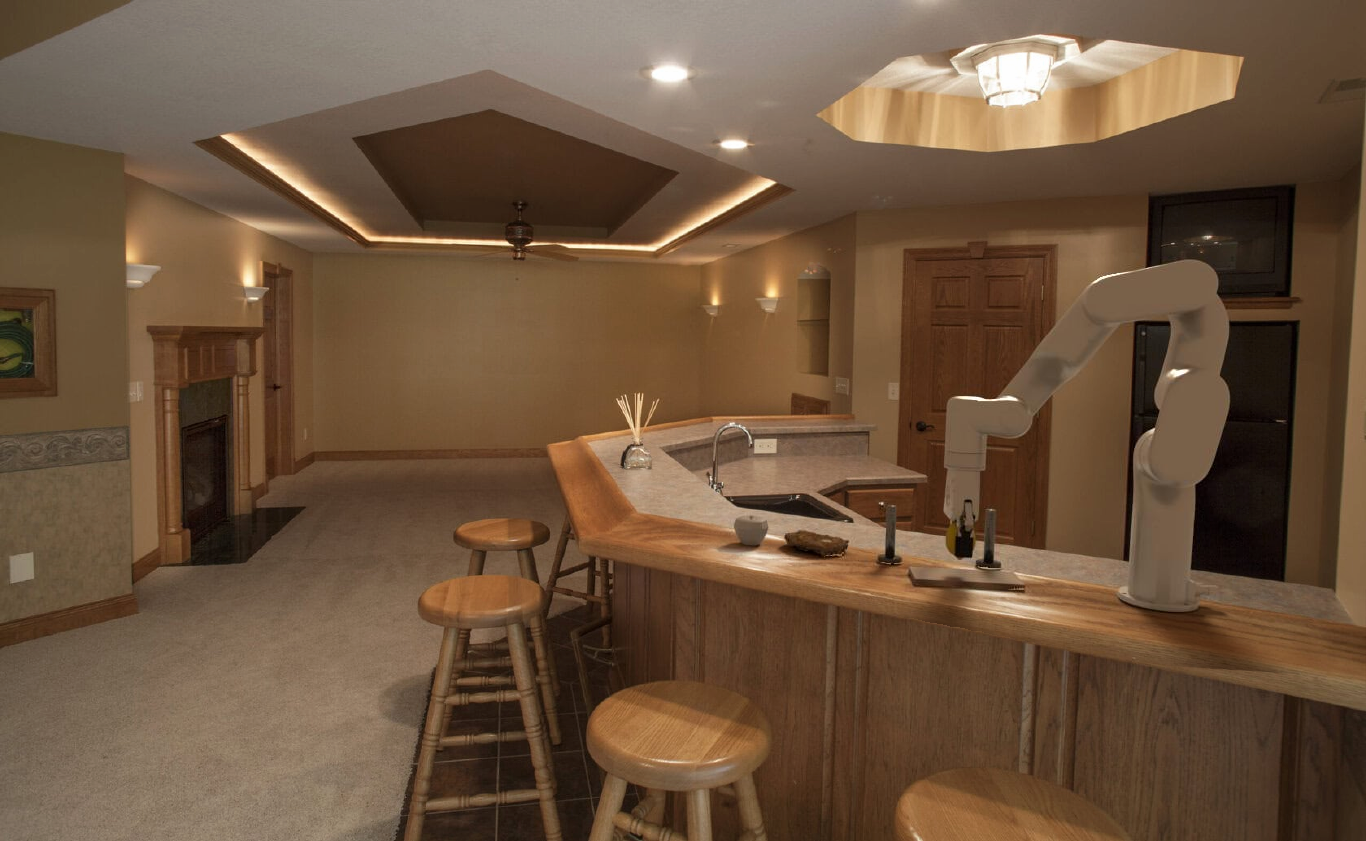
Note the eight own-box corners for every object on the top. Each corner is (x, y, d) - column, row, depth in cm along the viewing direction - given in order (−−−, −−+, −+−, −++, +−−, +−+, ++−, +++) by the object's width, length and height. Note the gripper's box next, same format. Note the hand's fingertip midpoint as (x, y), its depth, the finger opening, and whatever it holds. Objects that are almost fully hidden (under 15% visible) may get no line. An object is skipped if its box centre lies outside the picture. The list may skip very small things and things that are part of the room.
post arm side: (997, 564, 170) (1000, 508, 169) (1003, 570, 165) (1006, 512, 164) (973, 563, 171) (975, 507, 170) (978, 569, 166) (980, 511, 165)
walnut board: (1012, 577, 160) (1012, 571, 160) (1024, 590, 151) (1025, 584, 151) (908, 572, 163) (908, 566, 163) (914, 584, 154) (915, 578, 154)
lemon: (976, 564, 154) (978, 523, 153) (946, 562, 155) (948, 521, 154) (972, 557, 159) (974, 517, 158) (943, 555, 160) (944, 515, 159)
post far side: (900, 559, 173) (902, 504, 172) (903, 565, 168) (905, 508, 167) (876, 558, 174) (878, 503, 172) (878, 564, 169) (880, 507, 168)
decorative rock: (771, 552, 180) (834, 565, 172) (772, 535, 179) (835, 546, 171) (793, 540, 189) (854, 551, 181) (793, 523, 188) (855, 534, 180)
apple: (748, 549, 179) (749, 520, 179) (726, 542, 186) (726, 514, 185) (775, 545, 184) (775, 516, 184) (752, 538, 190) (753, 510, 190)
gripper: (937, 454, 164) (933, 541, 166) (952, 466, 147) (947, 563, 149) (975, 455, 163) (971, 543, 165) (995, 468, 146) (990, 566, 148)
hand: (960, 552), depth 157 cm, fingers closed on lemon, 5 cm apart
